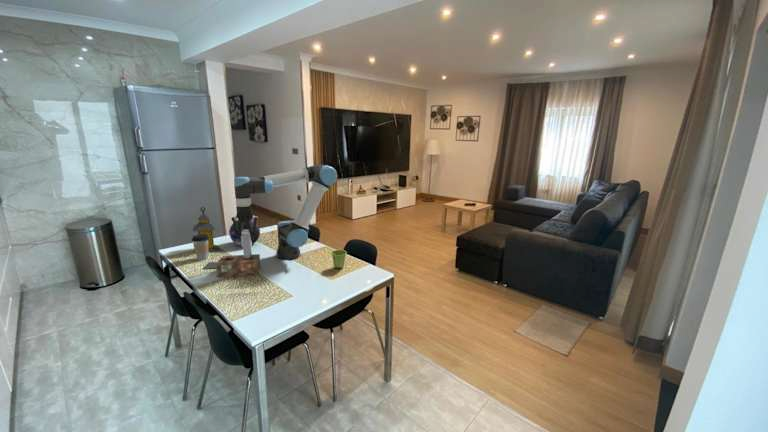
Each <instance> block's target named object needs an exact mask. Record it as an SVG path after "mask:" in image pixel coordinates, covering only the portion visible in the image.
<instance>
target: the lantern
mask: <svg viewBox="0 0 768 432" xmlns="http://www.w3.org/2000/svg"><path fill="white" fill-rule="evenodd" d="M200 211H201V213H202V214H201V215H200V216H199V217H198V218H197V221H198V223H197V224H195V225H194V226H193V228H192V232H197V233H198V234H197V235H201V234H206V235H208V237H209V239H208V253H215V252H219V251H220V247H219V245H216V244H214V236H213V235H214V234H213V232H214V231H213V230H217V225H216V224H215V223H214V222H212V221H210V220H211V217H210V216H208V215H207V214H206V213H205V212H206V207H205V206H201V207H200ZM194 254H195V255H196V253H195V252H194Z"/></svg>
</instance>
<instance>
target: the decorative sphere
mask: <svg viewBox="0 0 768 432" xmlns="http://www.w3.org/2000/svg"><path fill="white" fill-rule="evenodd" d="M236 221H237V226H238V232H239V227H240V221H239V220H238V219H237V220H236ZM250 221H251V226H252V230H253V222H254V220H253V219H251V220H250ZM243 229H248V225H247V222H244V223H243ZM228 232H229V234H228V235H229V237H230V239H231V241H232V242H233V243H234V244H235V245H237V246H241V247H242V242H241V241H239V235H235V230H234V225H233V223H232V224H231V226H230V227H229V230H228ZM260 235H261V229H260V226H259V225H258V224H257V233H256V234H254V235H253V238H254V240H253V241H252V245H254V244H255V243H256V242H257V241H258V240H259V238H260Z"/></svg>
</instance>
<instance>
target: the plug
mask: <svg viewBox="0 0 768 432" xmlns="http://www.w3.org/2000/svg"><path fill="white" fill-rule="evenodd" d="M241 233H242V241H243V247H242V251H243V255H244V259H247V258H251V257H252V255H253V254H252V253H253V252H252V247H250V244H249V235H250V232H249V229H243V230H242V232H241Z"/></svg>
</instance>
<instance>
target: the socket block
mask: <svg viewBox="0 0 768 432" xmlns="http://www.w3.org/2000/svg"><path fill="white" fill-rule="evenodd" d="M216 262H217V263H216V269H215V270H216V277H217V278H228V277H229V278H231V277H232V278H233V277H246V276H247V277H248V276H257V275H258V273H259V271H260V269H261V267H262V266H261V254H260V253H258V254H252V257H251V258H247V259H244V254H239V255H238V254H236V255H235V254H234V255H222V256H221V258H220V259H218V261H216Z"/></svg>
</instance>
